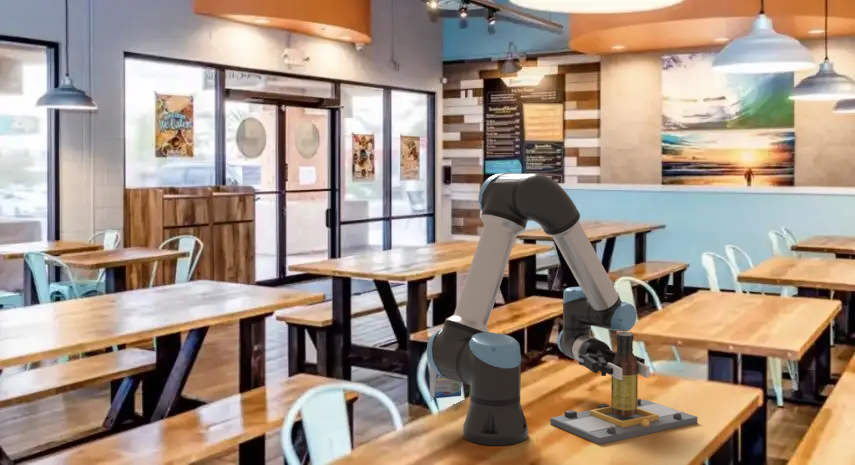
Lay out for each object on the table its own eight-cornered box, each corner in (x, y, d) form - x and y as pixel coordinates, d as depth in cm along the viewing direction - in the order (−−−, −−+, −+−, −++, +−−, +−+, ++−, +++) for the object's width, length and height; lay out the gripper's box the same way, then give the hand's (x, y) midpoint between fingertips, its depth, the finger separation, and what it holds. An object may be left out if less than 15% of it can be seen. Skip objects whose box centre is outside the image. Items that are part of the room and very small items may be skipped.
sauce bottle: (618, 408, 220) (620, 329, 218) (641, 412, 216) (643, 332, 214) (605, 414, 215) (607, 333, 213) (629, 419, 211) (631, 337, 209)
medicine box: (433, 398, 239) (433, 367, 238) (429, 394, 243) (429, 363, 243) (461, 396, 241) (461, 365, 240) (456, 392, 245) (456, 361, 245)
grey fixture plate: (599, 444, 200) (599, 431, 200) (550, 423, 216) (550, 412, 216) (697, 422, 216) (697, 411, 215) (644, 405, 231) (645, 394, 231)
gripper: (625, 364, 235) (670, 385, 212) (557, 369, 230) (597, 391, 207) (625, 336, 234) (671, 355, 212) (557, 340, 229) (597, 360, 207)
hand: (634, 373), depth 210 cm, fingers open, 6 cm apart
